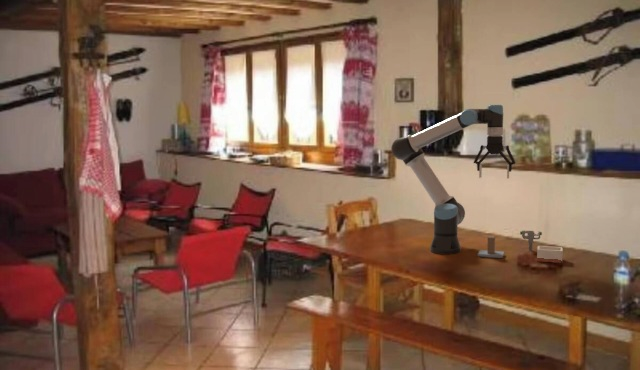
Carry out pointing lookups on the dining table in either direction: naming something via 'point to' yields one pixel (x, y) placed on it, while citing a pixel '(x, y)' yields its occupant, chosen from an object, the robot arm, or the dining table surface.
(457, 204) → the robot arm
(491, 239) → the lid
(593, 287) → the dining table surface
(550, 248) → the box
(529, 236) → the mechanical component
